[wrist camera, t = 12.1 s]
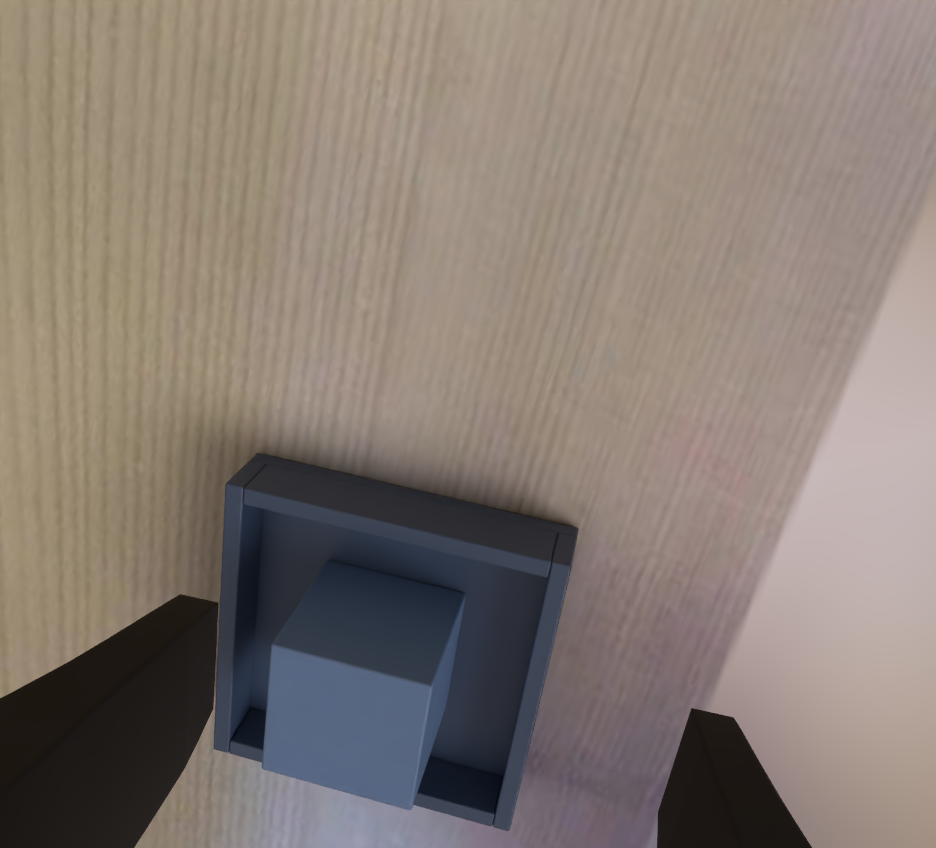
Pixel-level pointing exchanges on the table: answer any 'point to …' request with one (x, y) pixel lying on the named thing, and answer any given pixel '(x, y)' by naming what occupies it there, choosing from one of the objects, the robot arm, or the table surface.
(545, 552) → the blue tray
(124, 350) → the table surface
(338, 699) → the blue block
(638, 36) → the table surface
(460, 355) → the table surface
